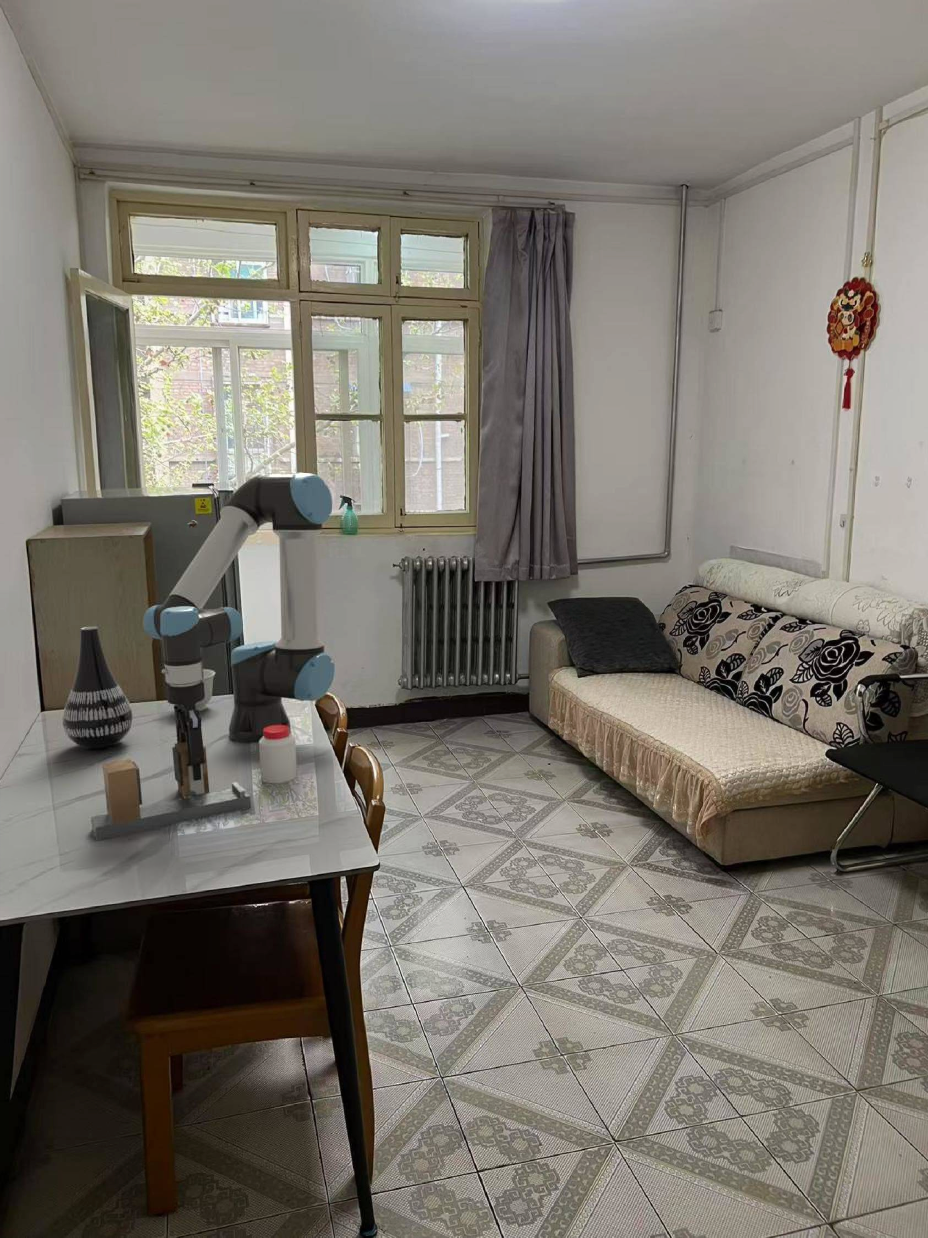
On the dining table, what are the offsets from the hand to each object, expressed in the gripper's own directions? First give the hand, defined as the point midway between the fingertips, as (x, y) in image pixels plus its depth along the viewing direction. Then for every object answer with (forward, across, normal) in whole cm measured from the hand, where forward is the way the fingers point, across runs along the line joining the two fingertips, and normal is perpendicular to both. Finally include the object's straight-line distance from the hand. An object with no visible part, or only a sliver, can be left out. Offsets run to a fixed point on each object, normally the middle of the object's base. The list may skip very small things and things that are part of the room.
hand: (193, 788), depth 194 cm
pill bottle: (+1, +2, +18) cm, 18 cm away
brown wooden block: (0, 0, 0) cm, 0 cm away
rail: (0, +13, -7) cm, 15 cm away
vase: (+1, -44, -12) cm, 46 cm away
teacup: (+1, -63, +15) cm, 65 cm away
